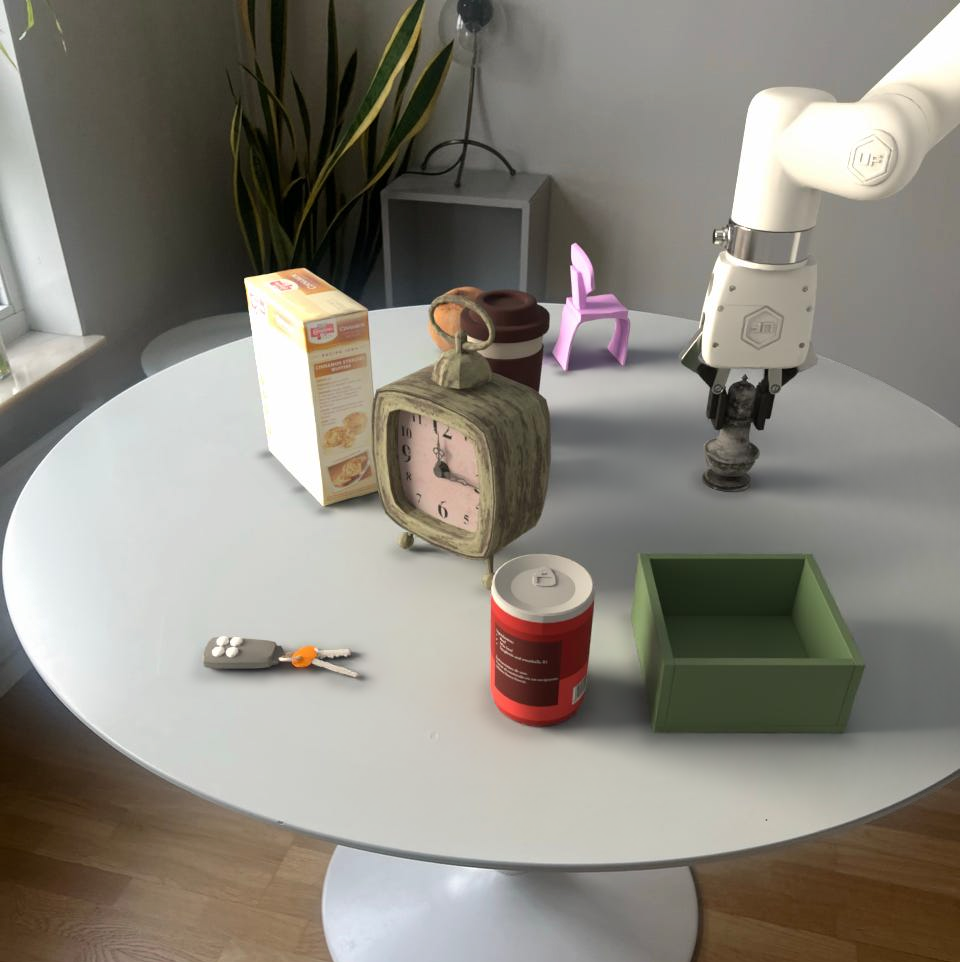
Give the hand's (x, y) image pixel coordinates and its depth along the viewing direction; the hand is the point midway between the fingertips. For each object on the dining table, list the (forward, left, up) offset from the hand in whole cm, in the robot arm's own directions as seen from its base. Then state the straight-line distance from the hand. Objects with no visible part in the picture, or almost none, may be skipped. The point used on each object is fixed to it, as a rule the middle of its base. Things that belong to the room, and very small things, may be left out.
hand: (736, 423), depth 100 cm
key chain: (+43, +31, -7) cm, 53 cm away
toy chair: (+12, -33, -7) cm, 36 cm away
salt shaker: (0, 0, -7) cm, 7 cm away
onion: (+29, -35, -7) cm, 46 cm away
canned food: (+22, +35, -7) cm, 42 cm away
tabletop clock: (+28, +15, -7) cm, 32 cm away
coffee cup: (+24, -13, -7) cm, 28 cm away
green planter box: (+6, +32, -7) cm, 33 cm away
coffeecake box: (+44, -2, -7) cm, 45 cm away
